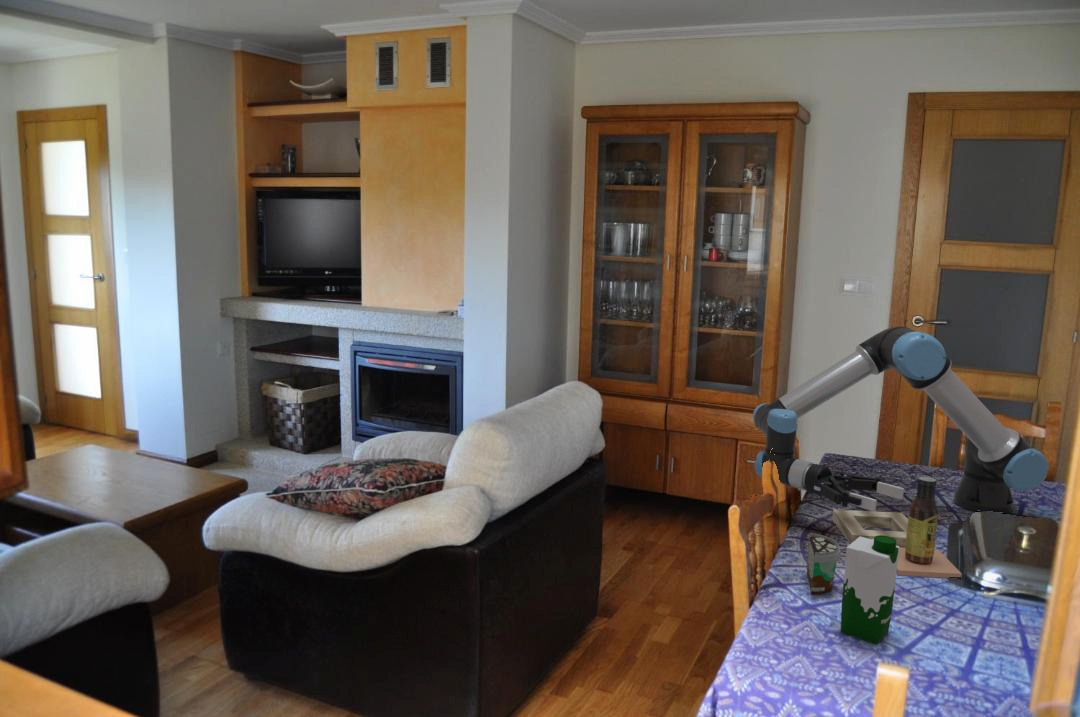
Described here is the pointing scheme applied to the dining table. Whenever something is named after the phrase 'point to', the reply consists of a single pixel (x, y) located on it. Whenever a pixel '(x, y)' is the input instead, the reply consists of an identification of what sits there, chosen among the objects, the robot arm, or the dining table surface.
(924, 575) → the terracotta tile
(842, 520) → the bottle stand
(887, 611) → the milk carton
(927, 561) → the sauce bottle
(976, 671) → the dining table surface
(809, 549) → the food container
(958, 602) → the dining table surface
